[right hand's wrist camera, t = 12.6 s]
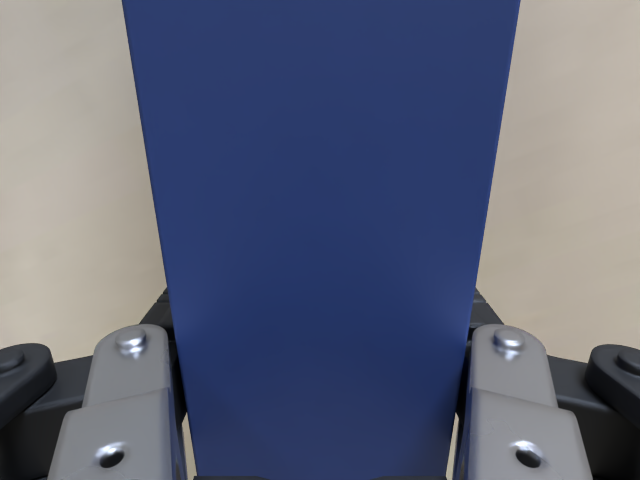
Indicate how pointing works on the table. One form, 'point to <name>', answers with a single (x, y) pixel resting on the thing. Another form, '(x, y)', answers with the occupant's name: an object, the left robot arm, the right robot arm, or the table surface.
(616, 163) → the table surface
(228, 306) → the bar
